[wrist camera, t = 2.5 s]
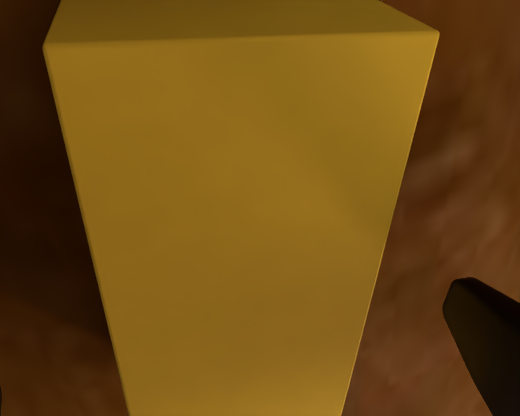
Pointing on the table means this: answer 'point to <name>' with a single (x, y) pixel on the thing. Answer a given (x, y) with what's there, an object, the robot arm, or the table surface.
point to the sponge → (237, 187)
